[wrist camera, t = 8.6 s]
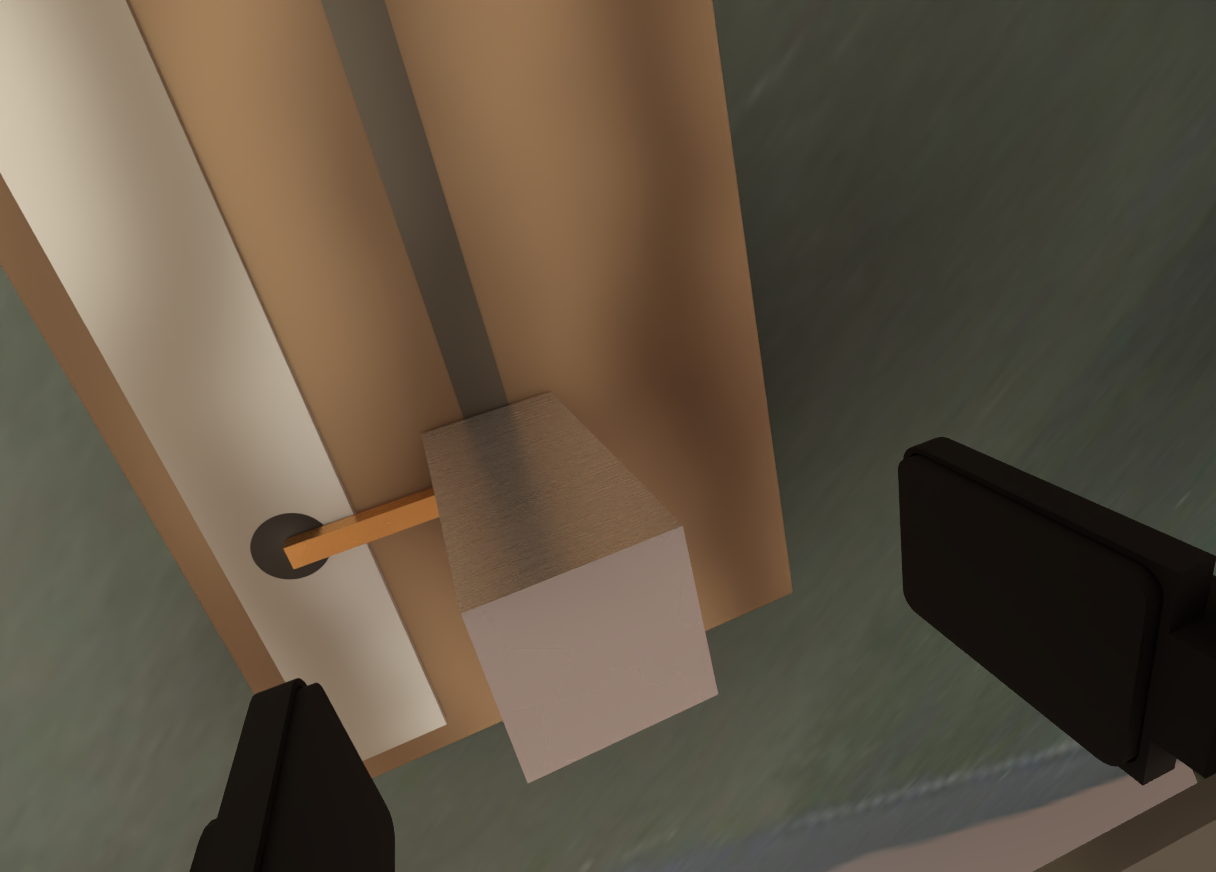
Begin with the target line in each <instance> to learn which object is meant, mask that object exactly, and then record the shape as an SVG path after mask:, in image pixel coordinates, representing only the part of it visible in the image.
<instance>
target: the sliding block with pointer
mask: <svg viewBox="0 0 1216 872" xmlns="http://www.w3.org/2000/svg"><path fill="white" fill-rule="evenodd" d="M421 435H422V439H423V444H424V449H425V453H426V458H427V462H428V467H429V471H430V476H431V480H432V485H433V488H430V489H427V490H424V491H421V492H418V493H416V494H413V495H410V496H407V497H404V498H401V499H398V500H396V501H393V502H390V503H387V504H384V505H381V506H378V507H375V508H373V509H370V510H367V511H364V512H361V513H358V514H355V515H353V516H350V517H347V518H344V519H341V520H338V521H335V522H333V523H330V524H327V525H324V526H321V527H318V528H315V529H313V530H310V531H307V532H304V533H301V534H298V535H295V536H293V537H290V538H287V539H286V540H285V544H284V548H283V549H284V551H285V553H286V555H287V557H288V559H289V561H290V563H291V565H292V567H293V569H296V568H299V567H302V566H305V565H307V564H310V563H313V562H316V561H318V560H321V559H324V558H327V557H330V556H332V555H335V554H338V553H341V552H343V551H346V550H349V549H352V548H355V547H357V546H360V545H363V544H366V543H368V542H371V541H374V540H377V539H379V538H382V537H385V536H388V535H391V534H393V533H396V532H399V531H402V530H404V529H407V528H410V527H413V526H416V525H418V524H421V523H424V522H427V521H429V520H432V519H435V518H438V517H440V521H441V526H442V530H443V535H444V540H445V544H446V549H447V553H448V558H449V562H450V567H451V571H452V576H453V581H454V585H455V590H456V594H457V599H458V603H459V608H460V612H461V616H462V618H463V621H464V623H465V626H466V628H467V631H468V633H469V636H470V638H471V641H472V644H473V646H474V649H475V651H476V654H477V656H478V659H479V661H480V664H481V666H482V669H483V671H484V674H485V676H486V679H487V682H488V684H489V687H490V689H491V692H492V694H493V697H494V699H495V702H496V704H497V707H498V709H499V712H500V714H501V717H502V720H503V722H504V725H505V727H506V730H507V732H508V735H509V737H510V740H511V742H512V745H513V747H514V750H515V752H516V755H517V758H518V760H519V763H520V765H521V768H522V770H523V773H524V775H525V778H526V780H527V783H530V782H532V781H534V780H536V779H538V778H541V777H543V776H545V775H547V774H549V773H551V772H553V771H556V770H558V769H560V768H562V767H564V766H566V765H568V764H571V763H573V762H575V761H577V760H579V759H581V758H583V757H585V756H588V755H590V754H592V753H594V752H596V751H598V750H600V749H603V748H605V747H607V746H609V745H611V744H613V743H615V742H617V741H620V740H622V739H624V738H626V737H628V736H630V735H632V734H635V733H637V732H639V731H641V730H643V729H645V728H647V727H649V726H652V725H654V724H656V723H658V722H660V721H662V720H664V719H667V718H669V717H671V716H673V715H675V714H677V713H679V712H681V711H684V710H686V709H688V708H690V707H692V706H694V705H696V704H699V703H701V702H703V701H705V700H707V699H709V698H711V697H713V696H716V695H718V691H717V687H716V682H715V677H714V672H713V667H712V663H711V658H710V653H709V648H708V643H707V639H706V634H705V629H704V624H703V620H702V615H701V610H700V605H699V600H698V596H697V591H696V586H695V581H694V577H693V572H692V567H691V562H690V557H689V553H688V548H687V543H686V538H685V534H684V529H683V525H682V524H681V523H680V522H679V521H678V520H677V519H676V518H675V517H674V516H673V515H672V514H671V513H670V512H669V511H668V510H667V509H666V508H665V507H664V506H663V505H662V504H661V503H660V502H659V501H658V500H657V499H656V498H655V497H654V496H653V495H652V494H651V493H650V492H649V491H648V490H647V489H646V488H645V487H644V486H643V485H642V484H641V483H640V482H639V481H638V480H637V479H636V478H635V477H634V476H633V475H632V474H631V473H630V472H629V471H628V469H627V468H626V467H625V466H624V465H623V464H622V463H621V462H620V461H619V460H618V459H617V458H616V457H615V456H614V455H613V454H612V453H611V452H610V451H609V450H608V449H607V448H606V447H605V446H604V445H603V444H602V443H601V442H600V441H599V440H598V439H597V438H596V437H595V436H594V435H593V434H592V433H591V432H590V431H589V430H588V429H587V428H586V427H585V426H584V425H583V424H582V423H581V422H580V421H579V420H578V419H577V418H576V417H575V416H574V415H573V414H572V413H571V412H570V411H569V410H568V409H567V408H566V407H565V405H564V404H563V403H562V402H561V401H560V400H559V399H558V398H557V397H556V396H555V395H554V394H553V393H552V392H551V391H549V392H546V393H543V394H540V395H537V396H534V397H531V398H528V399H525V400H522V401H519V402H516V403H513V404H510V405H507V406H504V407H501V408H498V409H495V410H492V411H489V412H486V413H483V414H480V415H477V416H474V417H471V418H467V419H464V420H461V421H458V422H455V423H452V424H449V425H446V426H443V427H440V428H437V429H434V430H431V431H428V432H425V433H422V434H421Z"/></svg>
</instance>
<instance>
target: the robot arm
mask: <svg viewBox="0 0 1216 872" xmlns="http://www.w3.org/2000/svg"><path fill="white" fill-rule="evenodd" d="M898 480H899V504H900V527H901V551H902V575H903V592H904V596H905V598H906V601H907V602H908V604H909V606H910V607H911V608H912V609H913V610H914V611H915V612H916V613H917V614H918V615H919V616H921V617H922V618H923V619H924V620H926V621H927V622H928V623H929V624H931V625H932V626H933V627H934V628H935V629H937V630H938V631H939V632H940V633H942V634H943V635H944V636H945V637H947V638H948V639H949V640H950V641H952V642H953V643H954V644H955V645H957V646H958V647H959V648H960V649H962V650H963V651H964V652H965V653H967V654H968V655H969V656H970V657H972V658H973V659H974V660H975V661H977V662H978V663H979V664H980V665H982V666H983V667H984V668H985V669H987V670H988V671H989V672H990V673H992V674H993V675H994V676H995V677H997V678H998V679H999V680H1000V681H1002V682H1003V683H1004V684H1005V685H1007V686H1008V687H1009V688H1010V689H1011V690H1013V691H1014V692H1015V693H1016V694H1018V695H1019V696H1020V697H1021V698H1023V699H1024V700H1025V701H1026V702H1028V703H1029V704H1030V705H1031V706H1033V707H1034V708H1035V709H1036V710H1038V711H1039V712H1040V713H1041V714H1043V715H1044V716H1045V717H1046V718H1048V719H1049V720H1050V721H1051V722H1053V723H1054V724H1055V725H1056V726H1058V727H1059V728H1060V729H1061V730H1063V731H1064V732H1065V733H1066V734H1068V735H1069V736H1070V737H1071V738H1073V739H1074V740H1075V741H1076V742H1078V743H1079V744H1080V745H1081V746H1083V747H1084V748H1085V749H1086V750H1087V751H1089V752H1090V753H1091V754H1092V755H1094V756H1095V757H1096V758H1098V759H1099V760H1101V761H1102V762H1103V763H1106V764H1108V765H1110V766H1119V767H1120V768H1121V769H1122V770H1124V771H1125V772H1126V773H1128V774H1129V775H1130V776H1131V777H1133V778H1134V779H1135V780H1136V781H1138V782H1139V783H1140V784H1141V785H1145V784H1147V783H1148V782H1150V781H1152V780H1154V779H1156V778H1158V777H1160V776H1161V775H1163V774H1165V773H1167V772H1169V771H1171V770H1173V769H1174V768H1175V763H1176V758H1177V759H1179V760H1180V761H1181V762H1183V763H1184V764H1186V765H1187V766H1188V767H1190V768H1191V769H1193V772H1194V774H1195V777H1196V779H1197V782H1198V783H1197V784H1195V785H1193V786H1191V787H1189V788H1188V789H1186V790H1184V791H1182V792H1180V793H1178V794H1176V795H1174V796H1173V797H1171V798H1169V799H1167V800H1165V801H1163V802H1162V803H1160V804H1158V805H1156V806H1154V807H1152V808H1150V809H1149V810H1147V811H1145V812H1143V813H1141V814H1139V815H1137V816H1135V817H1134V818H1132V819H1130V820H1128V821H1126V822H1125V823H1122V824H1121V825H1119V826H1117V827H1115V828H1113V829H1111V830H1110V831H1108V832H1106V833H1104V834H1102V835H1100V836H1099V837H1096V838H1095V839H1093V840H1091V841H1089V842H1087V843H1086V844H1084V845H1082V846H1080V847H1078V848H1076V849H1074V850H1072V851H1070V852H1069V853H1067V854H1065V855H1063V856H1061V857H1060V858H1057V859H1056V860H1054V861H1052V862H1050V863H1048V864H1046V865H1045V866H1043V867H1041V868H1039V869H1037V870H1035V871H1034V872H1216V576H1214V575H1213V571H1214V566H1215V561H1216V556H1215V555H1212V554H1210V553H1208V552H1205V551H1203V550H1201V549H1199V548H1196V547H1194V546H1192V545H1190V544H1187V543H1185V542H1183V541H1180V540H1178V539H1176V538H1174V537H1171V536H1169V535H1167V534H1165V533H1162V532H1160V531H1158V530H1155V529H1153V528H1151V527H1149V526H1146V525H1144V524H1142V523H1140V522H1137V521H1135V520H1133V519H1130V518H1128V517H1126V516H1124V515H1121V514H1119V513H1117V512H1115V511H1112V510H1110V509H1108V508H1105V507H1103V506H1101V505H1099V504H1096V503H1094V502H1092V501H1090V500H1087V499H1085V498H1083V497H1081V496H1078V495H1076V494H1074V493H1071V492H1069V491H1067V490H1065V489H1062V488H1060V487H1058V486H1056V485H1053V484H1051V483H1049V482H1046V481H1044V480H1042V479H1040V478H1037V477H1035V476H1033V475H1031V474H1028V473H1026V472H1024V471H1021V470H1019V469H1017V468H1015V467H1012V466H1010V465H1008V464H1006V463H1003V462H1001V461H999V460H996V459H994V458H992V457H990V456H987V455H985V454H983V453H981V452H978V451H976V450H974V449H971V448H969V447H967V446H965V445H962V444H960V443H958V442H956V441H953V440H951V439H949V438H945V437H938V438H935V439H932V440H929V441H927V442H924V443H921V444H919V445H916V446H913V447H911V448H909V449H908V450H906V452H905V454H904V459H903V460H902V461H901V462H900V464H899V466H898ZM190 872H395V834H394V827H393V822H392V818H391V815H390V812H389V810H388V808H387V806H386V804H385V802H384V800H383V798H382V797H381V795H380V793H379V791H378V789H377V787H376V785H375V784H374V782H373V780H372V778H371V776H370V774H369V772H368V771H367V769H366V767H365V765H364V763H363V761H362V759H361V758H360V756H359V754H358V752H357V750H356V748H355V746H354V745H353V743H352V741H351V739H350V737H349V735H348V733H347V732H346V730H345V728H344V726H343V724H342V722H341V720H340V719H339V717H338V715H337V713H336V711H335V709H334V707H333V706H332V704H331V702H330V700H329V698H328V696H327V694H326V693H325V691H324V689H323V687H322V686H321V685H320V684H319V683H313V684H310V685H308V686H307V684H306V683H305V682H304V681H303V680H302V679H301V678H296V679H293V680H291V681H288V682H285V683H283V684H280V685H277V686H275V687H272V688H269V689H267V690H264V691H261V692H259V693H256V694H255V695H254V696H253V697H252V699H251V701H250V704H249V708H248V711H247V715H246V718H245V722H244V726H243V729H242V733H241V736H240V740H239V743H238V747H237V750H236V754H235V757H234V761H233V764H232V768H231V771H230V775H229V778H228V782H227V785H226V789H225V792H224V796H223V799H222V803H221V806H220V810H219V813H218V817H217V819H214V820H212V821H211V822H210V823H209V824H208V825H207V826H206V827H205V828H204V831H203V833H202V835H201V837H200V840H199V842H198V846H197V849H196V852H195V856H194V859H193V862H192V865H191V869H190Z"/></svg>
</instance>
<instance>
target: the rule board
mask: <svg viewBox="0 0 1216 872" xmlns="http://www.w3.org/2000/svg"><path fill="white" fill-rule="evenodd" d="M0 264H1V266H2V267H3V269H4V271H5V273H6V274H7V276H8V278H9V279H10V281H11V283H12V284H13V286H14V288H15V289H16V291H17V293H18V295H19V296H20V298H21V300H22V301H23V303H24V305H25V306H26V308H27V310H28V312H29V313H30V315H31V317H32V318H33V320H34V322H35V323H36V325H37V327H38V328H39V330H40V332H41V334H42V335H43V337H44V339H45V340H46V342H47V344H48V345H49V347H50V349H51V350H52V352H53V354H54V356H55V357H56V359H57V361H58V362H59V364H60V366H61V367H62V369H63V371H64V372H65V374H66V376H67V378H68V379H69V381H70V383H71V384H72V386H73V388H74V389H75V391H76V393H77V394H78V396H79V398H80V400H81V401H82V403H83V405H84V406H85V408H86V410H87V411H88V413H89V415H90V417H91V418H92V420H93V422H94V423H95V425H96V427H97V428H98V430H99V432H100V433H101V435H102V437H103V439H104V440H105V442H106V444H107V445H108V447H109V449H110V450H111V452H112V454H113V455H114V457H115V459H116V461H117V462H118V464H119V466H120V467H121V469H122V471H123V472H124V474H125V476H126V477H127V479H128V481H129V483H130V484H131V486H132V488H133V489H134V491H135V493H136V494H137V496H138V498H139V499H140V501H141V503H142V505H143V506H144V508H145V510H146V511H147V513H148V515H149V516H150V518H151V520H152V521H153V523H154V525H155V527H156V528H157V530H158V532H159V533H160V535H161V537H162V538H163V540H164V542H165V544H166V545H167V547H168V549H169V550H170V552H171V554H172V555H173V557H174V559H175V560H176V562H177V564H178V566H179V567H180V569H181V571H182V572H183V574H184V576H185V577H186V579H187V581H188V582H189V584H190V586H191V588H192V589H193V591H194V593H195V594H196V596H197V598H198V599H199V601H200V603H201V604H202V606H203V608H204V610H205V611H206V613H207V615H208V616H209V618H210V620H211V621H212V623H213V625H214V626H215V628H216V630H217V632H218V633H219V635H220V637H221V638H222V640H223V642H224V643H225V645H226V647H227V649H228V650H229V652H230V654H231V655H232V657H233V659H234V660H235V662H236V664H237V665H238V667H239V669H240V671H241V672H242V674H243V676H244V677H245V679H246V681H247V682H248V684H249V686H250V687H251V689H252V691H253V693H254V694H256V693H259V692H261V691H264V690H267V689H269V688H272V687H275V686H277V685H280V684H283V683H285V682H288V681H291V680H293V679H296V678H301V679H302V680H303V681H304V682H305V683H306V684H307V686H308V685H310V684H313V683H319V684H320V685H321V686H322V687H323V689H324V691H325V693H326V694H327V696H328V698H329V700H330V702H331V704H332V706H333V707H334V709H335V711H336V713H337V715H338V717H339V719H340V720H341V722H342V724H343V726H344V728H345V730H346V732H347V733H348V735H349V737H350V739H351V741H352V743H353V745H354V746H355V748H356V750H357V752H358V754H359V756H360V758H361V759H362V761H363V763H364V765H365V767H366V769H367V771H368V772H369V774H370V776H371V778H374V777H376V776H379V775H381V774H383V773H385V772H388V771H390V770H392V769H394V768H397V767H399V766H401V765H403V764H406V763H408V762H410V761H413V760H415V759H417V758H419V757H422V756H424V755H426V754H428V753H431V752H433V751H435V750H437V749H440V748H442V747H444V746H446V745H449V744H451V743H453V742H456V741H458V740H460V739H462V738H465V737H467V736H469V735H471V734H474V733H476V732H478V731H480V730H483V729H485V728H487V727H489V726H492V725H494V724H496V723H499V722H501V721H503V720H502V717H501V714H500V712H499V709H498V707H497V704H496V702H495V699H494V697H493V694H492V692H491V689H490V687H489V684H488V682H487V679H486V676H485V674H484V671H483V669H482V666H481V664H480V661H479V659H478V656H477V654H476V651H475V649H474V646H473V644H472V641H471V638H470V636H469V633H468V631H467V628H466V626H465V623H464V621H463V618H462V616H461V612H460V608H459V603H458V599H457V594H456V590H455V585H454V581H453V576H452V571H451V567H450V562H449V558H448V553H447V549H446V544H445V540H444V535H443V530H442V526H441V521H440V517H438V518H435V519H432V520H429V521H427V522H424V523H421V524H418V525H416V526H413V527H410V528H407V529H404V530H402V531H399V532H396V533H393V534H391V535H388V536H385V537H382V538H379V539H377V540H374V541H371V542H368V543H366V544H363V545H360V546H357V547H355V548H352V549H349V550H346V551H343V552H341V553H338V554H335V555H332V556H330V557H327V558H324V559H321V560H318V561H316V562H313V563H310V564H307V565H305V566H302V567H299V568H296V569H293V567H292V565H291V563H290V561H289V559H288V557H287V555H286V553H285V551H284V549H283V548H284V544H285V540H286V539H287V538H290V537H293V536H295V535H298V534H301V533H304V532H307V531H310V530H313V529H315V528H318V527H321V526H324V525H327V524H330V523H333V522H335V521H338V520H341V519H344V518H347V517H350V516H353V515H355V514H358V513H361V512H364V511H367V510H370V509H373V508H375V507H378V506H381V505H384V504H387V503H390V502H393V501H396V500H398V499H401V498H404V497H407V496H410V495H413V494H416V493H418V492H421V491H424V490H427V489H430V488H433V485H432V480H431V476H430V471H429V467H428V462H427V458H426V453H425V449H424V444H423V439H422V435H421V434H422V433H425V432H428V431H431V430H434V429H437V428H440V427H443V426H446V425H449V424H452V423H455V422H458V421H461V420H464V419H467V418H471V417H474V416H477V415H480V414H483V413H486V412H489V411H492V410H495V409H498V408H501V407H504V406H507V405H510V404H513V403H516V402H519V401H522V400H525V399H528V398H531V397H534V396H537V395H540V394H543V393H546V392H549V391H551V392H552V393H553V394H554V395H555V396H556V397H557V398H558V399H559V400H560V401H561V402H562V403H563V404H564V405H565V407H566V408H567V409H568V410H569V411H570V412H571V413H572V414H573V415H574V416H575V417H576V418H577V419H578V420H579V421H580V422H581V423H582V424H583V425H584V426H585V427H586V428H587V429H588V430H589V431H590V432H591V433H592V434H593V435H594V436H595V437H596V438H597V439H598V440H599V441H600V442H601V443H602V444H603V445H604V446H605V447H606V448H607V449H608V450H609V451H610V452H611V453H612V454H613V455H614V456H615V457H616V458H617V459H618V460H619V461H620V462H621V463H622V464H623V465H624V466H625V467H626V468H627V469H628V471H629V472H630V473H631V474H632V475H633V476H634V477H635V478H636V479H637V480H638V481H639V482H640V483H641V484H642V485H643V486H644V487H645V488H646V489H647V490H648V491H649V492H650V493H651V494H652V495H653V496H654V497H655V498H656V499H657V500H658V501H659V502H660V503H661V504H662V505H663V506H664V507H665V508H666V509H667V510H668V511H669V512H670V513H671V514H672V515H673V516H674V517H675V518H676V519H677V520H678V521H679V522H680V523H681V524H682V525H683V529H684V534H685V538H686V543H687V548H688V553H689V557H690V562H691V567H692V572H693V577H694V581H695V586H696V591H697V596H698V600H699V605H700V610H701V615H702V620H703V624H704V629H705V631H707V630H709V629H711V628H714V627H716V626H718V625H720V624H723V623H725V622H727V621H729V620H732V619H734V618H736V617H738V616H741V615H743V614H745V613H747V612H750V611H752V610H754V609H757V608H759V607H761V606H763V605H766V604H768V603H770V602H772V601H775V600H777V599H779V598H781V597H784V596H786V595H788V594H790V593H793V590H792V582H791V575H790V568H789V560H788V553H787V546H786V538H785V531H784V524H783V516H782V509H781V502H780V494H779V487H778V480H777V472H776V465H775V458H774V450H773V443H772V436H771V428H770V421H769V414H768V406H767V399H766V392H765V384H764V377H763V370H762V362H761V355H760V348H759V340H758V333H757V326H756V318H755V311H754V304H753V296H752V289H751V282H750V274H749V267H748V260H747V252H746V245H745V238H744V230H743V223H742V216H741V208H740V201H739V194H738V186H737V179H736V172H735V164H734V157H733V150H732V142H731V135H730V128H729V120H728V113H727V106H726V98H725V91H724V84H723V76H722V69H721V62H720V54H719V47H718V40H717V32H716V25H715V18H714V10H713V3H712V0H0Z"/></svg>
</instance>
